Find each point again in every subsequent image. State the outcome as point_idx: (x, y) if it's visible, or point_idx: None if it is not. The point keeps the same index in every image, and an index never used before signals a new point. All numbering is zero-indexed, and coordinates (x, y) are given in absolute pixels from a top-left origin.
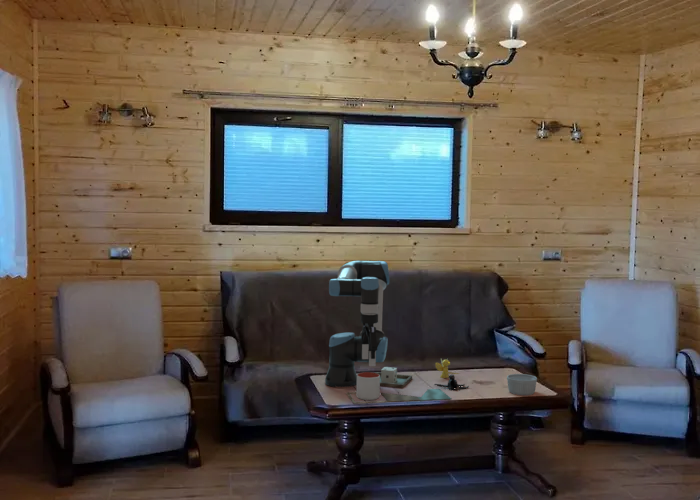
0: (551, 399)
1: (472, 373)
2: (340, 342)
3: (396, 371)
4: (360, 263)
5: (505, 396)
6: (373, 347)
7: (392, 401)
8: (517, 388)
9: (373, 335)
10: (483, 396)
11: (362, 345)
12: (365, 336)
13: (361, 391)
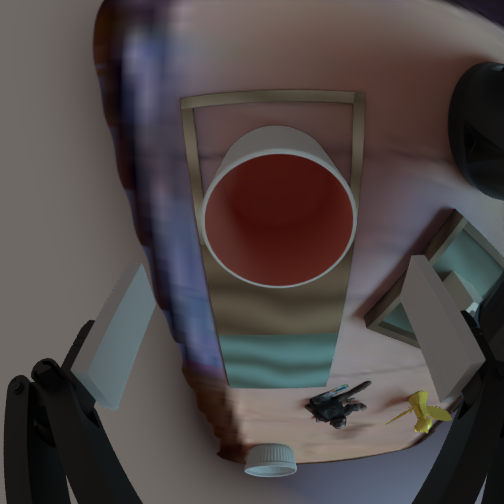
0: (226, 455)
1: (411, 423)
2: None
3: None
4: None
5: (247, 437)
6: (97, 428)
7: (203, 258)
8: (252, 455)
9: None
10: (250, 422)
11: (468, 354)
12: (432, 499)
13: (231, 148)
